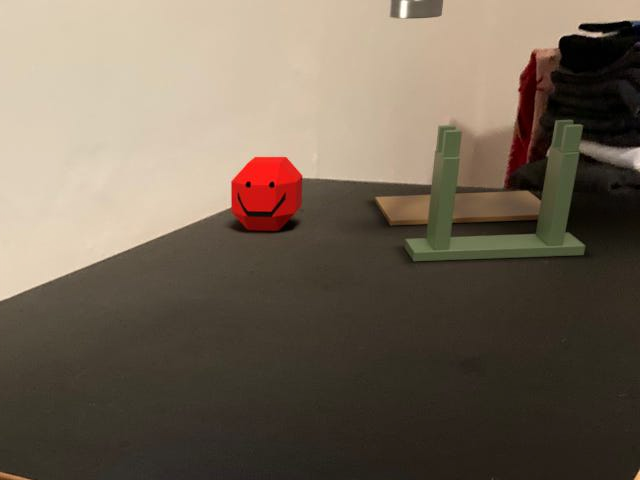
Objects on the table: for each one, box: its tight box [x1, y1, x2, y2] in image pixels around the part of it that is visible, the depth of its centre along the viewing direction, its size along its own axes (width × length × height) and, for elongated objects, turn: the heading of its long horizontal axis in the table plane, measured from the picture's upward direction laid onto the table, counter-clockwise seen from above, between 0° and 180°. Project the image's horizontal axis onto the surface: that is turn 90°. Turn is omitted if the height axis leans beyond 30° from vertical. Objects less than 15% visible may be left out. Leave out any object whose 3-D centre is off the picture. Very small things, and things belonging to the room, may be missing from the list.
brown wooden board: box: [374, 190, 541, 226], centre depth 125 cm, size 20×14×1 cm
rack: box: [404, 119, 586, 263], centre depth 104 cm, size 18×6×12 cm, turn 87°
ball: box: [230, 156, 304, 232], centre depth 120 cm, size 8×8×8 cm
